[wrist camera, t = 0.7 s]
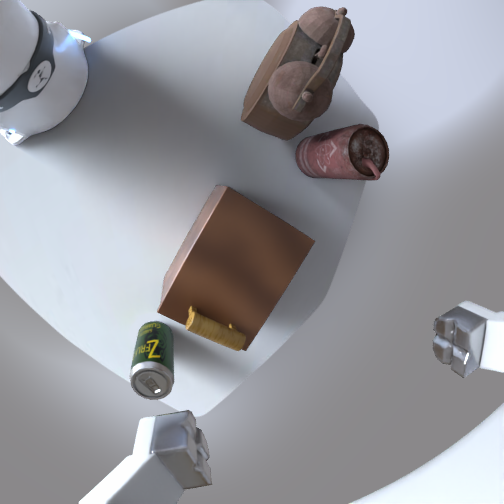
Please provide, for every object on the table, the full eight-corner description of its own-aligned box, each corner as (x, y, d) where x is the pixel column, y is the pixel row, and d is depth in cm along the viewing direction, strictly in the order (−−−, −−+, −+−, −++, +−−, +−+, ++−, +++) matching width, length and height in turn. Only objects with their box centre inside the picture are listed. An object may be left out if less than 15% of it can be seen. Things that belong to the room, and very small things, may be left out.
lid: (244, 347, 35) (254, 371, 31) (157, 309, 32) (154, 330, 27) (312, 239, 34) (333, 249, 29) (226, 186, 30) (235, 187, 26)
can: (310, 187, 42) (366, 194, 29) (285, 151, 40) (334, 141, 26) (340, 164, 42) (401, 163, 29) (317, 129, 40) (374, 113, 27)
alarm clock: (275, 152, 39) (355, 134, 20) (227, 130, 37) (272, 88, 18) (310, 69, 37) (393, 15, 18) (267, 47, 35) (329, -27, 16)
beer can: (180, 341, 43) (183, 391, 31) (150, 354, 42) (146, 406, 31) (161, 313, 41) (157, 359, 30) (131, 328, 40) (119, 376, 29)
